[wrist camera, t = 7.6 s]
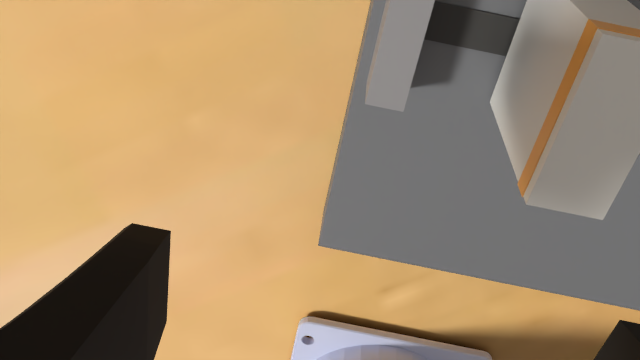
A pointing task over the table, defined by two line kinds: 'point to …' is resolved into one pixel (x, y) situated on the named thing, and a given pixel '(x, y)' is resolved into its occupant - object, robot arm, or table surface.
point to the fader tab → (572, 103)
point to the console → (460, 163)
